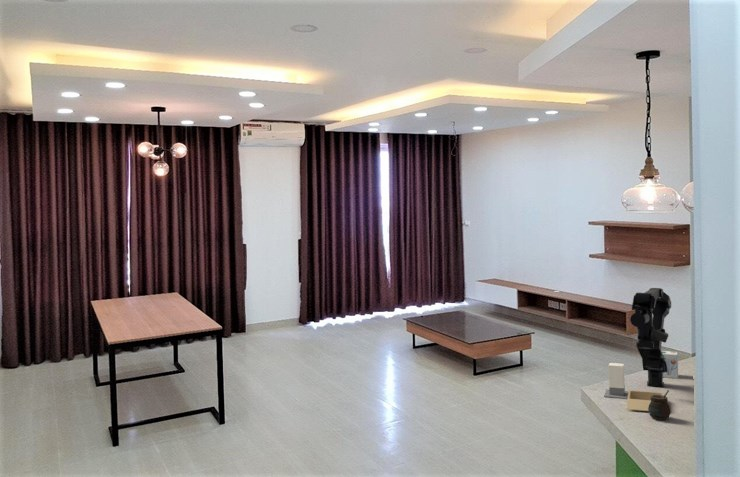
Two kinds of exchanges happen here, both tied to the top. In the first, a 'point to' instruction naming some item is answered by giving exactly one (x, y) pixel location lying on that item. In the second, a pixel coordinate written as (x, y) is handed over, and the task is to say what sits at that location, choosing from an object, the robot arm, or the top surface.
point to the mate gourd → (659, 407)
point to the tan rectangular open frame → (640, 399)
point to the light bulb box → (671, 364)
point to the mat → (607, 394)
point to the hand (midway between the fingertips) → (646, 361)
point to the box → (616, 379)
